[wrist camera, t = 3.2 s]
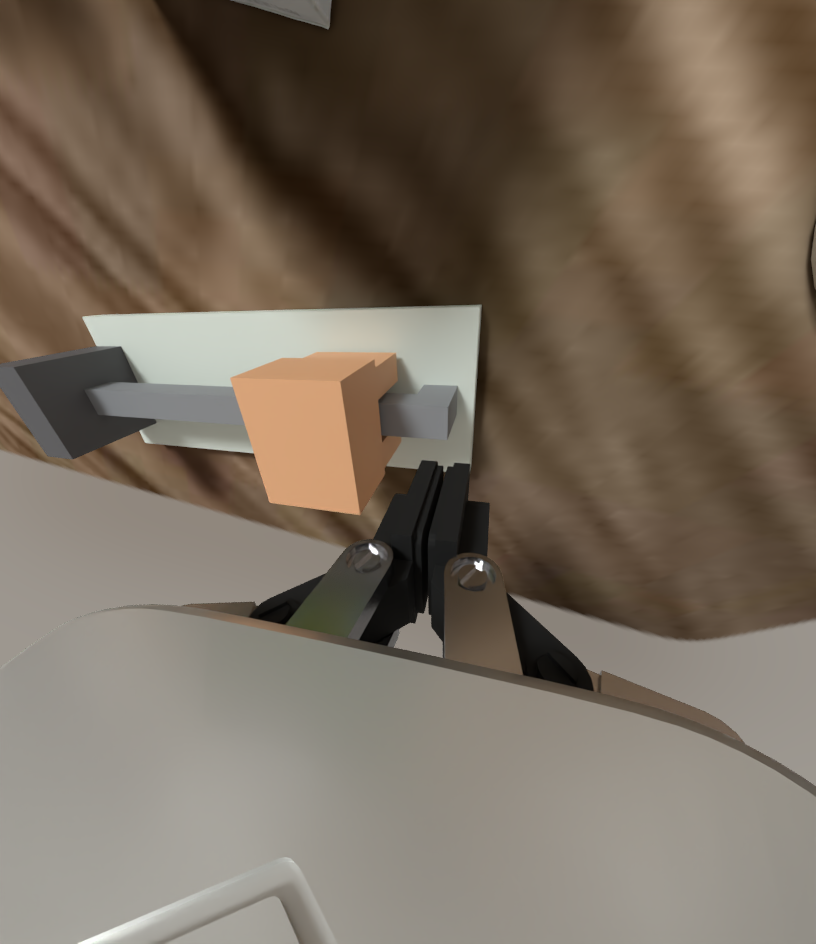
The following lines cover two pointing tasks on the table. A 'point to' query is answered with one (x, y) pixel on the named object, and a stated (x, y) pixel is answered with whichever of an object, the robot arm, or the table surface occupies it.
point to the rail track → (234, 352)
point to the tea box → (297, 9)
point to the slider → (319, 427)
